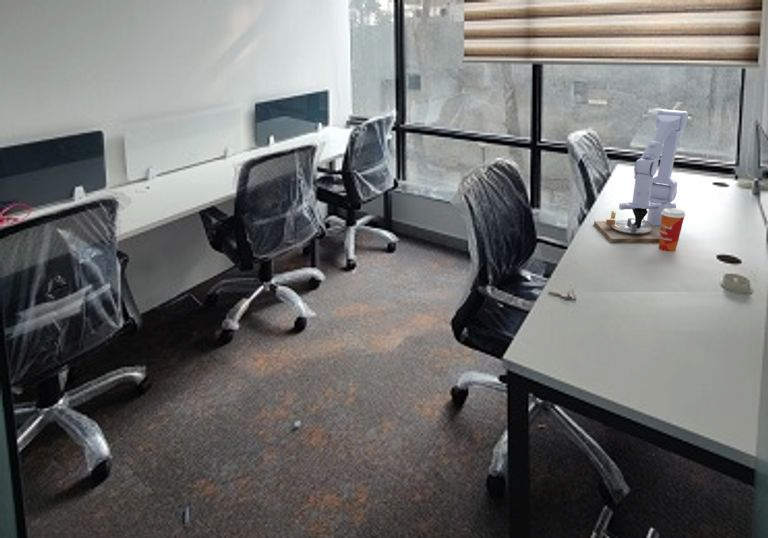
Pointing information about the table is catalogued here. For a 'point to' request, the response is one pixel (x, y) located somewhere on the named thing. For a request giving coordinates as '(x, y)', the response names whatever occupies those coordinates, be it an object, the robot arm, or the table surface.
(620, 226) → the flange plate
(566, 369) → the table surface
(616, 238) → the base board
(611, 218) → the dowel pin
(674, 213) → the paper cup
